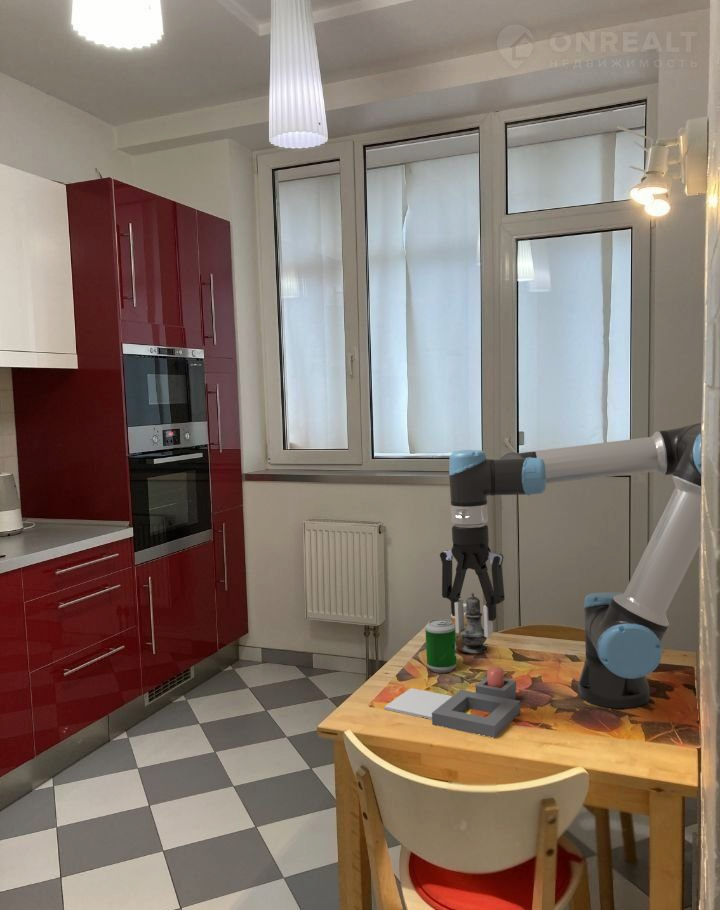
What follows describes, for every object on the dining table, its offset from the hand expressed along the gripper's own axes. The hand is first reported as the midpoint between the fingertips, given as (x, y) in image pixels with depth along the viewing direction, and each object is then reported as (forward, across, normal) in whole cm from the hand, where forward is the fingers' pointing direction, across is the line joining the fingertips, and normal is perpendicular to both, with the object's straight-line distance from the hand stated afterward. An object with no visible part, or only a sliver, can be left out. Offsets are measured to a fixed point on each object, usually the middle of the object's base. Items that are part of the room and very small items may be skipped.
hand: (474, 633), depth 157 cm
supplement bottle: (+19, -26, +47) cm, 57 cm away
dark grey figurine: (+4, 0, 0) cm, 4 cm away
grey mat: (+18, -14, +1) cm, 23 cm away
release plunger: (+17, 0, +10) cm, 20 cm away
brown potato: (+19, -20, +37) cm, 46 cm away
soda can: (+19, -20, +23) cm, 36 cm away
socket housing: (+18, 0, +3) cm, 19 cm away
